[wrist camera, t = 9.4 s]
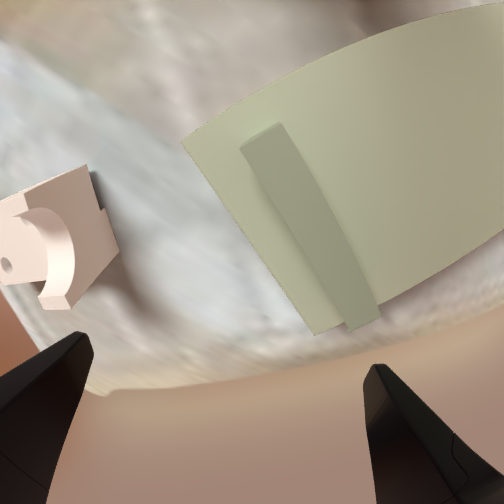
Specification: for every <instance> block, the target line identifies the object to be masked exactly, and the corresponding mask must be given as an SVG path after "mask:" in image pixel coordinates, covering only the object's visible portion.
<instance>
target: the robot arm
mask: <svg viewBox="0 0 504 504" xmlns="http://www.w3.org/2000/svg"><path fill="white" fill-rule="evenodd" d="M93 357H94V352H93V348H92V345H91V343H90V340H89V337H88V335H87V334H86V333H83V332H79V331H76V332H73V333H72V334H70V335H68V336H67V337H65V338H63V339H62V340H60V341H58V342H57V343H55V344H53V345H52V346H50V347H48V348H47V349H45V350H43V351H42V352H40V353H38V354H37V355H35V356H33V357H32V358H30V359H28V360H27V361H25V362H23V363H22V364H20V365H19V366H17V367H15V368H14V369H12V370H11V371H9V372H7V373H6V374H4V375H2V376H1V377H0V504H46V501H47V497H48V493H49V489H50V485H51V482H52V479H53V475H54V472H55V469H56V465H57V462H58V459H59V456H60V453H61V450H62V447H63V444H64V441H65V439H66V436H67V433H68V430H69V428H70V425H71V422H72V419H73V417H74V414H75V412H76V409H77V407H78V404H79V402H80V399H81V396H82V393H83V390H84V387H85V384H86V380H87V377H88V373H89V370H90V367H91V364H92V360H93ZM363 392H364V406H365V421H366V431H367V438H368V444H369V450H370V456H371V463H372V470H373V477H374V485H375V492H376V501H377V504H504V475H502V474H501V473H500V472H498V471H497V470H496V469H495V468H494V467H492V466H491V465H490V464H488V463H487V462H486V461H485V460H484V459H482V458H481V457H480V456H479V455H478V454H477V453H475V452H474V451H473V450H472V449H471V448H470V447H469V446H467V444H465V443H464V442H463V441H462V440H461V439H460V438H459V437H458V436H457V435H456V434H455V433H453V431H452V430H451V429H450V428H449V427H448V426H447V425H446V424H445V423H444V422H443V421H442V420H441V419H440V418H439V417H438V416H437V415H436V414H435V413H434V412H433V411H432V410H431V409H430V408H429V407H428V406H427V405H426V404H425V403H424V402H423V401H422V400H421V399H420V398H419V397H418V396H417V395H416V394H415V393H414V392H413V391H412V390H411V389H410V388H409V387H408V386H407V385H406V384H405V383H404V382H403V381H402V380H401V379H400V378H399V377H398V376H397V375H396V374H395V373H394V372H393V371H392V370H391V369H390V368H389V367H388V366H387V365H385V364H373V365H372V366H371V368H370V370H369V372H368V374H367V376H366V378H365V380H364V383H363Z"/></svg>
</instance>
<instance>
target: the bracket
mask: <svg viewBox="0 0 504 504" xmlns="http://www.w3.org/2000/svg"><path fill="white" fill-rule="evenodd" d="M119 252H120V251H119V248H118V245H117V242H116V239H115V237H114V234H113V231H112V228H111V225H110V222H109V219H108V216H107V213H106V210H105V208H104V209H100V208H99V205H98V202H97V199H96V195H95V192H94V189H93V185H92V182H91V178H90V174H89V171H88V167H87V164H86V165H83V166H81V167H78V168H75V169H72V170H70V171H67V172H65V173H62V174H60V175H57V176H55V177H52V178H50V179H47V180H45V181H43V182H40V183H38V184H36V185H33V186H31V187H29V188H27V189H24V190H22V191H20V192H18V193H16V194H14V195H12V196H9V197H7V198H5V199H3V200H1V201H0V281H1V283H2V285H11V284H19V283H27V282H36V281H44V280H46V283H45V286H44V289H43V290H42V292H41V294H40V295H39V296H38V299H39V301H40V303H41V305H42V306H43V308H44V310H59V309H72V307H73V306H74V305H75V304H76V302H77V301H78V300H79V299H80V297H81V296H82V295H83V294H84V292H85V291H86V290H87V289H88V288H89V286H90V285H91V284H92V283H93V282H94V280H95V279H96V278H97V277H98V276H99V275H100V273H101V272H102V271H103V270H104V269H105V268H106V266H107V265H108V264H109V263H110V262H111V261H112V259H113V258H114V257H115V256H116V255H117V254H118V253H119Z"/></svg>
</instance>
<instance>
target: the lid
mask: <svg viewBox="0 0 504 504" xmlns="http://www.w3.org/2000/svg"><path fill="white" fill-rule="evenodd" d="M180 142H181V144H182V145H183V147H184V148H185V150H186V151H187V152H188V154H189V155H190V157H191V158H192V160H193V161H194V162H195V164H196V165H197V167H198V168H199V170H200V171H201V173H202V174H203V175H204V177H205V178H206V180H207V181H208V183H209V184H210V185H211V187H212V188H213V190H214V191H215V193H216V194H217V196H218V197H219V198H220V200H221V201H222V203H223V204H224V206H225V207H226V208H227V210H228V211H229V213H230V214H231V216H232V217H233V219H234V220H235V221H236V223H237V224H238V226H239V227H240V229H241V230H242V232H243V233H244V234H245V236H246V237H247V239H248V240H249V242H250V243H251V245H252V246H253V247H254V249H255V250H256V252H257V253H258V255H259V256H260V258H261V259H262V261H263V262H264V263H265V265H266V266H267V268H268V269H269V271H270V272H271V274H272V275H273V276H274V278H275V279H276V281H277V282H278V284H279V285H280V287H281V288H282V289H283V291H284V292H285V294H286V295H287V297H288V298H289V300H290V301H291V303H292V304H293V305H294V307H295V308H296V310H297V311H298V313H299V314H300V316H301V317H302V319H303V320H304V321H305V323H306V324H307V326H308V327H309V329H310V330H311V332H312V333H313V335H314V336H315V335H317V334H320V333H322V332H324V331H326V330H329V329H331V328H333V327H335V326H337V325H339V324H342V323H344V322H345V323H346V325H347V327H348V329H349V331H350V332H351V331H353V330H355V329H358V328H360V327H362V326H364V325H366V324H368V323H370V322H372V321H374V320H376V319H378V318H380V317H382V315H381V313H380V310H379V308H378V305H380V304H382V303H384V302H386V301H388V300H390V299H392V298H393V297H395V296H397V295H399V294H401V293H403V292H405V291H406V290H408V289H410V288H412V287H414V286H415V285H417V284H419V283H421V282H422V281H424V280H426V279H428V278H429V277H431V276H433V275H434V274H436V273H438V272H439V271H441V270H443V269H444V268H446V267H448V266H449V265H451V264H452V263H454V262H456V261H457V260H459V259H460V258H462V257H464V256H465V255H467V254H468V253H470V252H471V251H473V250H474V249H476V248H477V247H479V246H480V245H482V244H483V243H485V242H486V241H488V240H489V239H491V238H492V237H493V236H495V235H496V234H498V233H499V232H500V231H502V230H503V229H504V2H500V3H493V4H486V5H480V6H475V7H469V8H464V9H460V10H455V11H451V12H447V13H442V14H439V15H435V16H431V17H427V18H424V19H420V20H417V21H414V22H410V23H407V24H404V25H401V26H398V27H395V28H392V29H389V30H387V31H384V32H381V33H378V34H376V35H373V36H370V37H368V38H365V39H363V40H360V41H358V42H355V43H353V44H350V45H348V46H346V47H343V48H341V49H339V50H337V51H334V52H332V53H330V54H328V55H326V56H323V57H321V58H319V59H317V60H315V61H313V62H311V63H309V64H307V65H305V66H303V67H301V68H299V69H297V70H295V71H293V72H291V73H289V74H287V75H285V76H283V77H282V78H280V79H278V80H276V81H274V82H272V83H271V84H269V85H267V86H265V87H264V88H262V89H260V90H258V91H257V92H255V93H253V94H251V95H250V96H248V97H246V98H245V99H243V100H241V101H240V102H238V103H237V104H235V105H233V106H232V107H230V108H229V109H227V110H225V111H224V112H222V113H221V114H219V115H218V116H216V117H215V118H213V119H212V120H210V121H209V122H207V123H206V124H204V125H203V126H201V127H200V128H198V129H197V130H195V131H194V132H193V133H191V134H190V135H188V136H187V137H185V138H184V139H183V140H181V141H180Z"/></svg>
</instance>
